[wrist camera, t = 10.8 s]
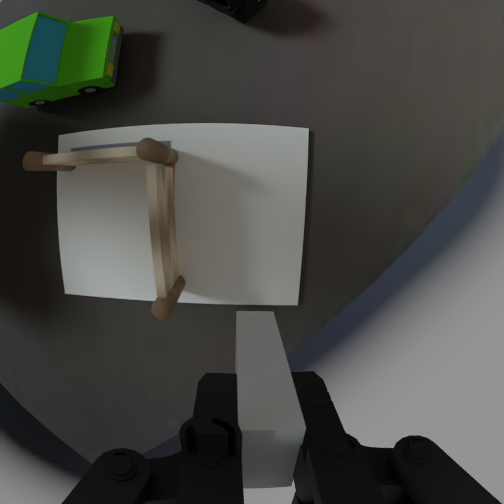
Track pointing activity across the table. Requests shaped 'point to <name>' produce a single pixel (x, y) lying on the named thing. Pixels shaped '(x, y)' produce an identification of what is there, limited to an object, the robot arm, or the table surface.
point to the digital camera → (237, 7)
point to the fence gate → (163, 240)
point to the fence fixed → (101, 156)
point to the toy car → (57, 58)
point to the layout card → (189, 214)
